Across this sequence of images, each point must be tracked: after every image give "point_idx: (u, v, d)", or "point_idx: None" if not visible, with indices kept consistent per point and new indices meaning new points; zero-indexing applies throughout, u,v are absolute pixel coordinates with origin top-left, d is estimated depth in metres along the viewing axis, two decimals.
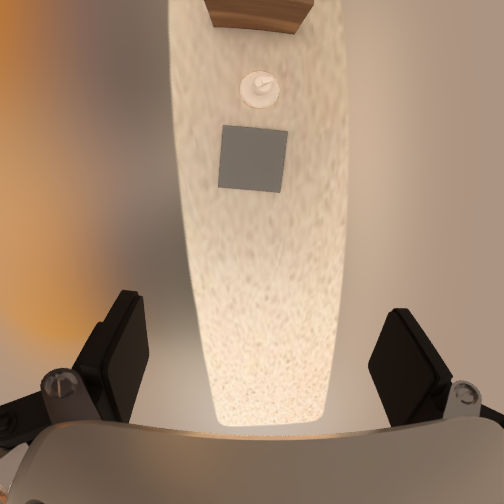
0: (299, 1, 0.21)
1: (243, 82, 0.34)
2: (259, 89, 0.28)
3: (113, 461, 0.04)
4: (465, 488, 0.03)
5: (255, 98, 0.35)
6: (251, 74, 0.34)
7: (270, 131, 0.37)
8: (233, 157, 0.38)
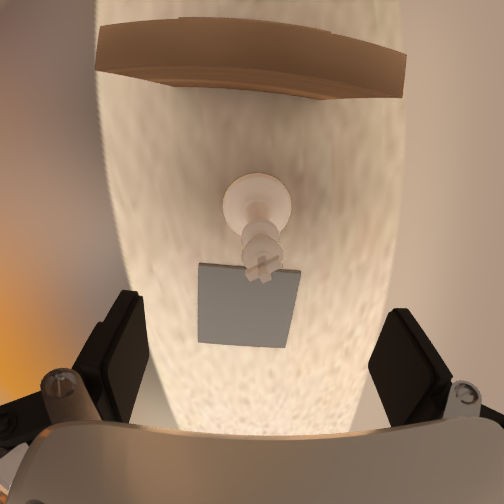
0: (366, 86, 0.08)
1: (228, 198, 0.21)
2: None
3: (113, 461, 0.04)
4: (465, 488, 0.03)
5: None
6: (242, 183, 0.21)
7: (273, 274, 0.25)
8: (217, 309, 0.26)
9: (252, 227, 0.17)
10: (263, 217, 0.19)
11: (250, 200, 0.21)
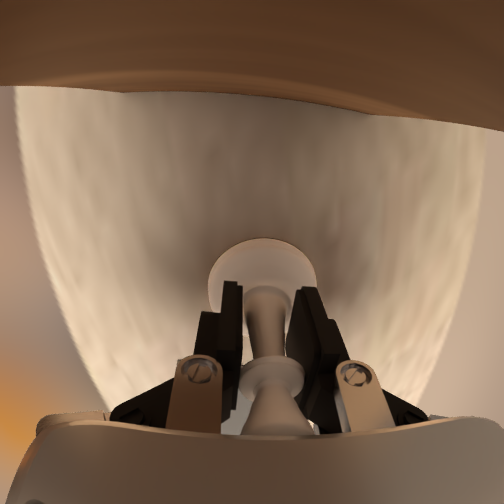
0: None
1: (216, 281, 0.13)
2: None
3: (113, 461, 0.04)
4: (465, 488, 0.03)
5: None
6: (238, 258, 0.13)
7: None
8: None
9: (257, 371, 0.09)
10: (275, 332, 0.11)
11: (251, 289, 0.12)
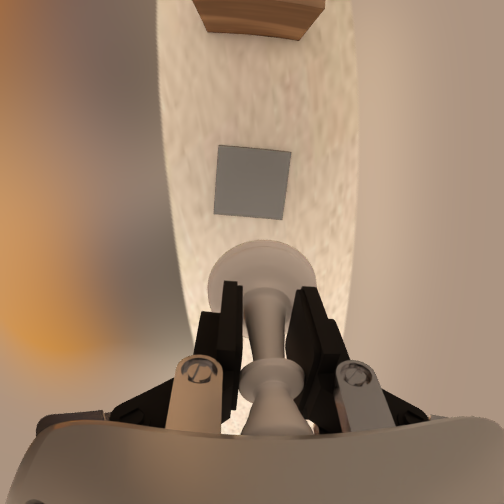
0: (307, 4, 0.17)
1: (216, 283, 0.13)
2: None
3: (113, 461, 0.04)
4: (465, 488, 0.03)
5: None
6: (238, 260, 0.13)
7: (271, 152, 0.34)
8: (230, 181, 0.35)
9: (257, 373, 0.09)
10: (275, 334, 0.11)
11: (251, 291, 0.12)
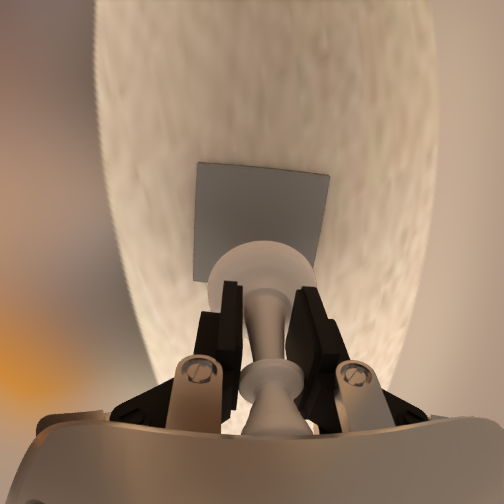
0: None
1: (216, 283, 0.13)
2: None
3: (113, 461, 0.04)
4: (465, 488, 0.03)
5: None
6: (238, 260, 0.13)
7: (295, 175, 0.18)
8: (220, 228, 0.20)
9: (257, 374, 0.09)
10: (275, 335, 0.11)
11: (251, 291, 0.12)
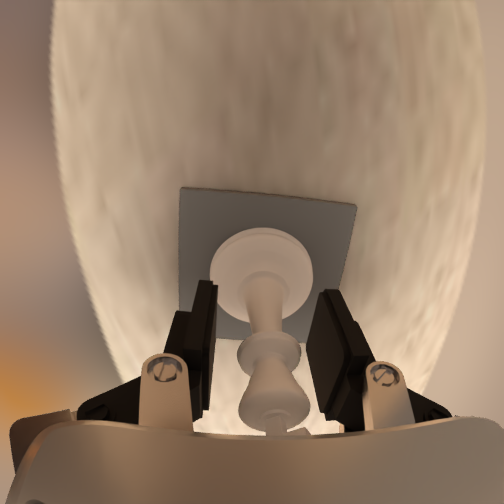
0: None
1: (217, 268, 0.14)
2: (260, 430, 0.08)
3: (113, 461, 0.04)
4: (465, 488, 0.03)
5: None
6: (239, 246, 0.14)
7: (312, 205, 0.14)
8: None
9: (256, 345, 0.10)
10: (273, 312, 0.12)
11: (251, 274, 0.13)
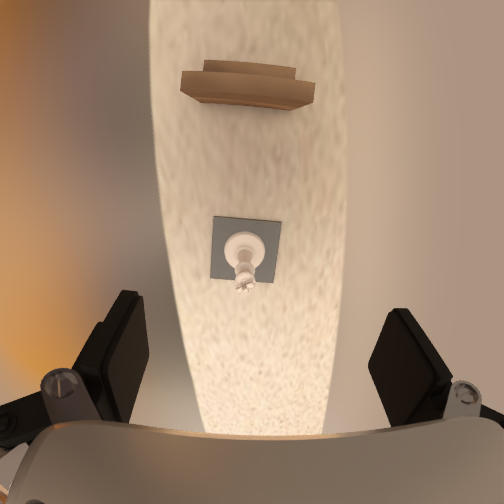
0: (295, 99, 0.21)
1: (227, 246, 0.37)
2: None
3: (113, 461, 0.04)
4: (465, 488, 0.03)
5: None
6: (235, 238, 0.37)
7: (263, 223, 0.37)
8: None
9: (240, 265, 0.33)
10: (247, 259, 0.35)
11: (240, 248, 0.37)
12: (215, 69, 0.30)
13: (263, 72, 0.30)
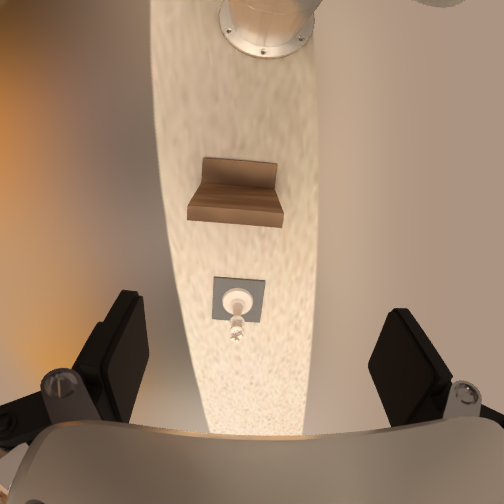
0: (269, 226, 0.33)
1: (224, 299, 0.50)
2: (234, 336, 0.44)
3: (113, 461, 0.04)
4: (465, 488, 0.03)
5: None
6: (230, 293, 0.49)
7: (251, 281, 0.49)
8: None
9: (233, 318, 0.45)
10: (238, 311, 0.47)
11: (234, 301, 0.49)
12: (212, 166, 0.41)
13: (251, 169, 0.42)
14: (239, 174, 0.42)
